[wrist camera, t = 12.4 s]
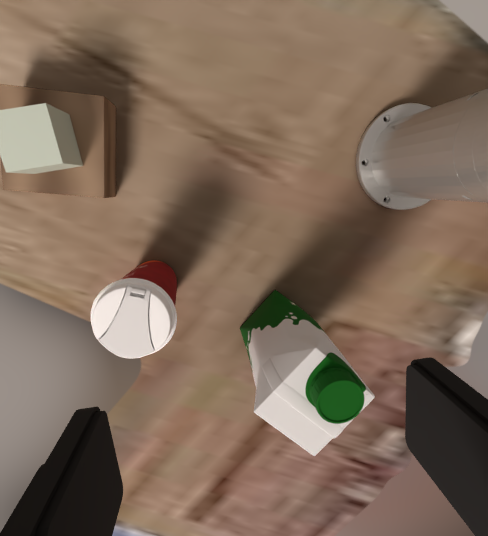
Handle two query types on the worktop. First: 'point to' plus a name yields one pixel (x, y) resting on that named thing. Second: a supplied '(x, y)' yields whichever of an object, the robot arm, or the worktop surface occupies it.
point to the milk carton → (300, 375)
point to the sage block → (37, 140)
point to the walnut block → (88, 140)
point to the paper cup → (137, 311)
